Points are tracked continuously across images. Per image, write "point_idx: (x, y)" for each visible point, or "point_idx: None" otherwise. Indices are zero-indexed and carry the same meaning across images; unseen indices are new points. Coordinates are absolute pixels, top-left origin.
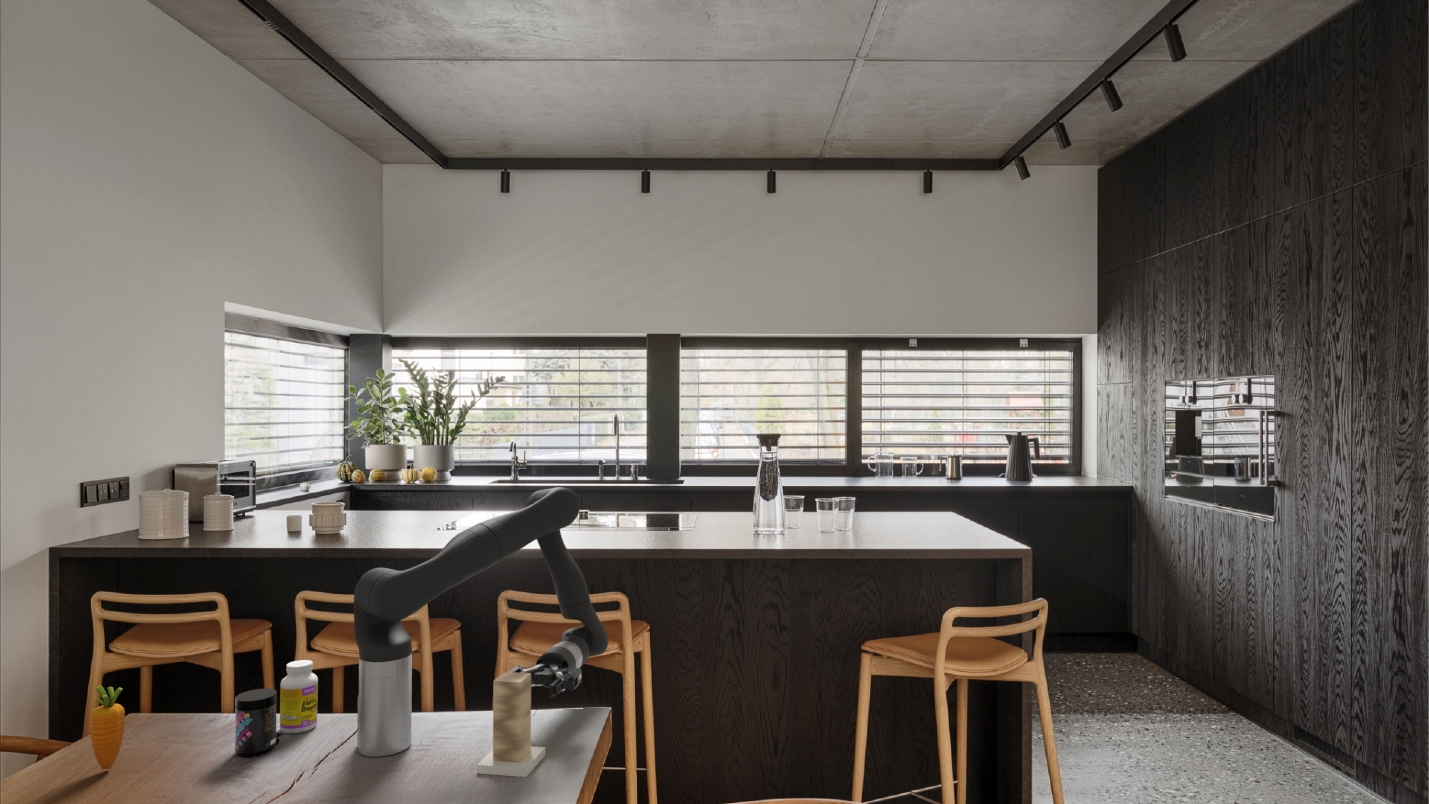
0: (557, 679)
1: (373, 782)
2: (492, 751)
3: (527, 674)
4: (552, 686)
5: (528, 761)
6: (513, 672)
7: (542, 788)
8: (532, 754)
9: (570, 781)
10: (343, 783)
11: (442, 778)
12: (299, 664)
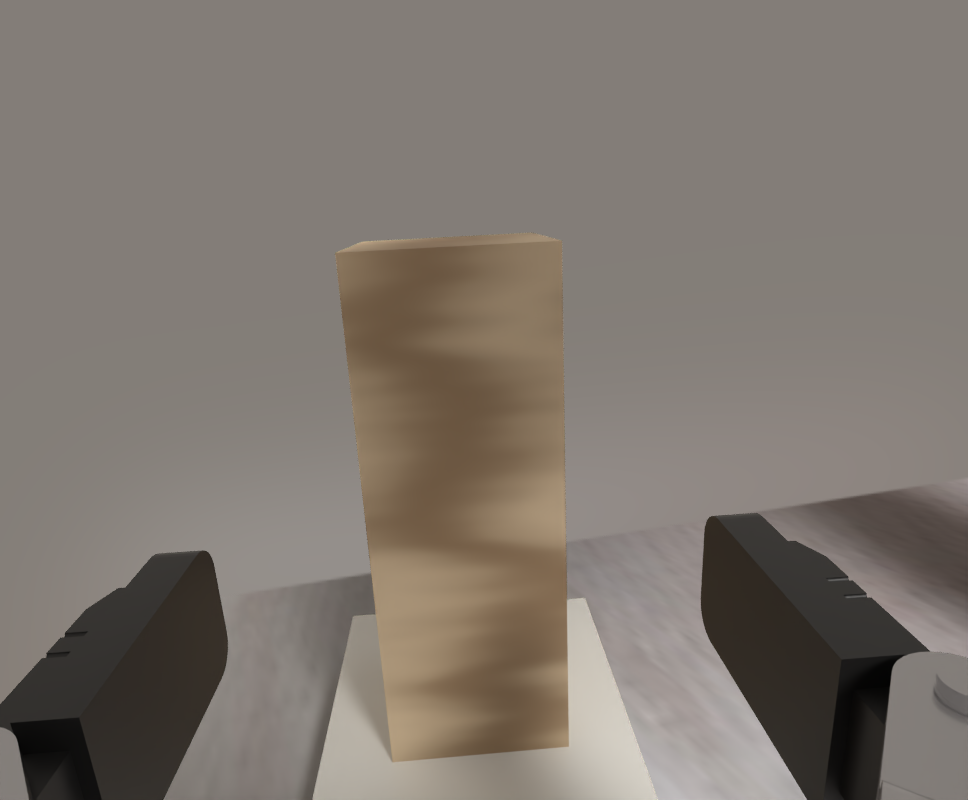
0: (59, 714)
1: (877, 531)
2: (615, 705)
3: (357, 249)
4: (172, 554)
5: (362, 660)
6: (487, 244)
7: (270, 606)
8: (364, 723)
9: None
10: (953, 513)
11: (686, 584)
12: None
